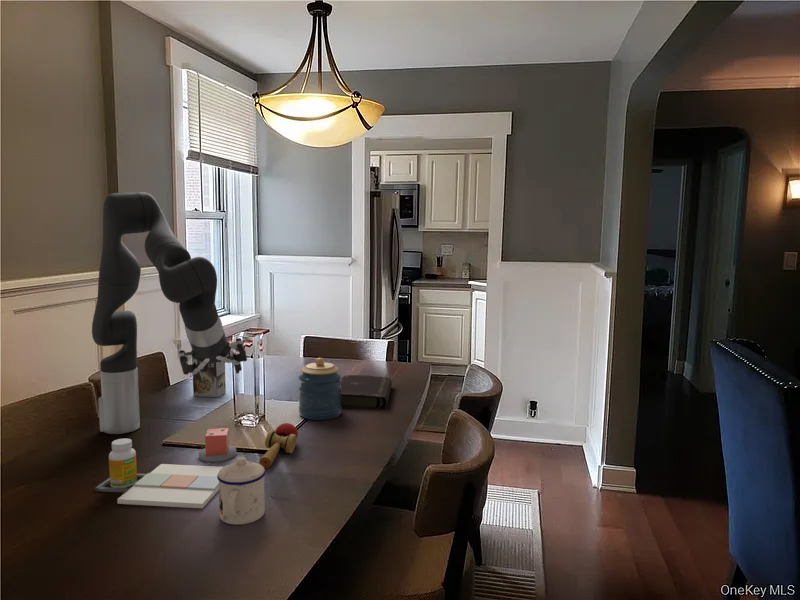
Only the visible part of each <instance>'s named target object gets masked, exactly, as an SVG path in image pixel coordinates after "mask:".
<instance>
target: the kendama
mask: <svg viewBox="0 0 800 600" xmlns="http://www.w3.org/2000/svg"><path fill="white" fill-rule="evenodd" d="M298 434H299V433H298V430H297V427H296V426H294V424H292V423H290V422H289V423H288V422H285V423H281V424H280V425H278V426H277V427H276V429H275V430H269V431H268V432H267V435H266V437H265V440H264V442H265V443H264V446H265V448H267V449H268V450H267V451H266V452H265V453H264V454H263V455H262V457H261V458H260V459H259V461H258V462H259V463H258V464H260V465H262V466H263V467H264V469H269V468H270V467H271V466H272V464H273V462H274V461H275V458H276V457H277V455H278V453H279V451H280V448H283V450H284V451H285V452H286V454H287V453H288V454H292V453H293V452H294V451H295V447H296V445H297V439H298Z"/></svg>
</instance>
